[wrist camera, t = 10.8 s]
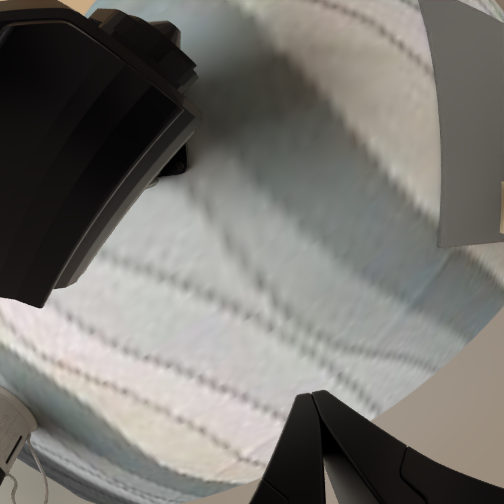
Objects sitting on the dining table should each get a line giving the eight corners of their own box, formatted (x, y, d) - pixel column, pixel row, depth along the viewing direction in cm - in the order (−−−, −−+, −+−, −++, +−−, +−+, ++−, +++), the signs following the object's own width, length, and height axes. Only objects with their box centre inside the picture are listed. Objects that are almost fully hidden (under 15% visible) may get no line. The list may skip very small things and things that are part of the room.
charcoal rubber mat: (414, -13, 13) (416, -15, 13) (518, 34, 13) (520, 33, 13) (437, 246, 20) (439, 248, 20) (530, 237, 20) (533, 238, 20)
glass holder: (-13, 372, 24) (-69, 445, 10) (75, 436, 27) (36, 528, 13) (-10, 404, 26) (-53, 468, 12) (67, 458, 29) (37, 534, 15)
